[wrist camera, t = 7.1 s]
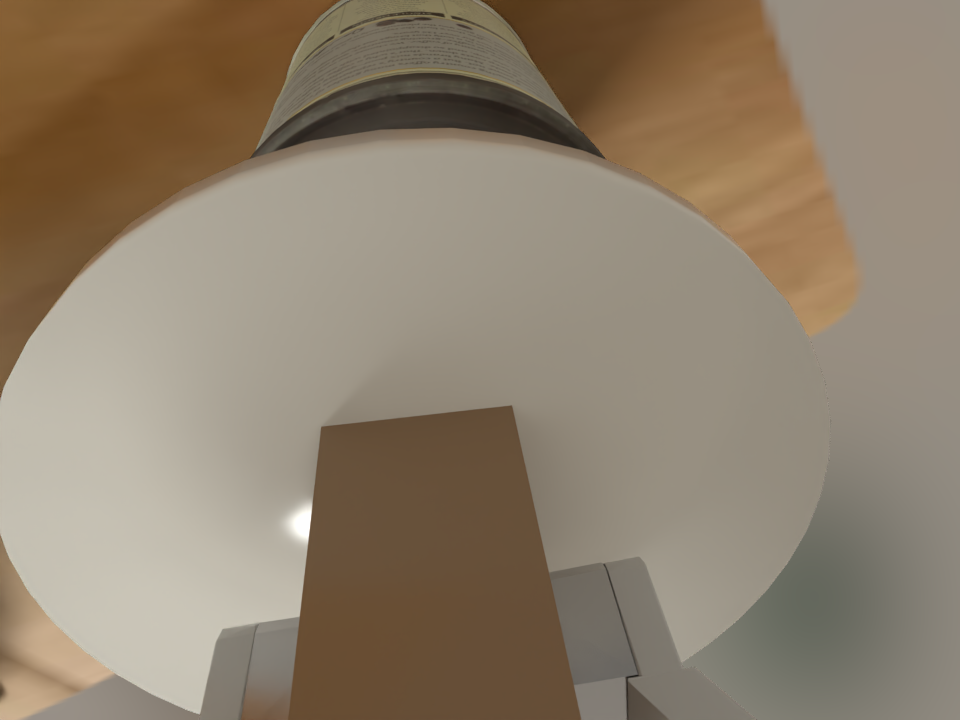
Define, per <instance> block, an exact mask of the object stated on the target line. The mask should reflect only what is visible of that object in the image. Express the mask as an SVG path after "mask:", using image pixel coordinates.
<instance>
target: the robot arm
mask: <svg viewBox="0 0 960 720" xmlns="http://www.w3.org/2000/svg"><path fill="white" fill-rule="evenodd" d="M549 575H550V579H551V584H552V589H553V593H554V598H555V602H556V607H557V611H558V616H559V620H560V625H561V629H562V634H563V638H564V643H565V647H566V652H567V657H568V661H569V666H570V670H571V675H572V679H573V684H574V688H575V693H576V697H577V702H578V706H579V711H580V715H581V720H757V719H756V718H755V717H753V716H752V715H751V714H750V713H749V712H747V711H746V710H745V709H744V708H743V707H742V706H741V705H739V704H738V703H737V702H736V701H735V700H733V699H732V698H731V697H730V696H729V695H728V694H726V693H725V692H724V691H723V690H722V689H721V688H719V687H718V686H717V685H716V684H715V683H713V682H712V681H711V680H710V679H709V678H708V677H706V676H705V675H704V674H703V673H702V672H701V671H699V670H698V669H697V668H696V667H690V668H683V665H682V663H681V660H680V657H679V654H678V652H677V649H676V646H675V643H674V641H673V638H672V635H671V632H670V630H669V627H668V624H667V621H666V619H665V616H664V613H663V610H662V608H661V605H660V602H659V599H658V597H657V594H656V591H655V588H654V586H653V583H652V580H651V577H650V575H649V572H648V569H647V566H646V564H645V562H644V561H643V560H642V559H641V558H640V557H639V556H638V557H633V558H628V559H623V560H618V561H613V562H607V563H602V562H600V563H595V564H590V565H584V566H579V567H574V568H569V569H563V570H558V571H553V572H549ZM299 619H300V617H294V618H287V619H281V620H274V621H268V622H260V623H254V624H248V625H242V626H236V627H231V628H225V629H222V631H221V633H220V635H219V637H218V638H217V640H216V642H215V647H214V651H213V656H212V661H211V665H210V670H209V675H208V679H207V684H206V688H205V693H204V698H203V702H202V707H201V712H200V717H199V720H288V716H289V707H290V698H291V689H292V681H293V672H294V663H295V654H296V645H297V636H298V627H299Z"/></svg>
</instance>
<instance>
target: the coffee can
mask: <svg viewBox="0 0 960 720" xmlns="http://www.w3.org/2000/svg"><path fill="white" fill-rule="evenodd" d="M424 128H458V129H467V130H477V131H486V132H496V133H505V134H515V135H522V136H526V137H530V138H534V139H538V140H542V141H546V142H550V143H554V144H558V145H563V146H567V147H571V148H575V149H579V150H583V151H586V152H588V153H591V154H593V155H596V156H598V157H601V158H603V159H605V158H604V156H603V155H602V154H601V153H600V151H599V150H598V149H597V148H596V147H595V145H594V144H593V143H592V142H591V141H590V140H589V139H588V138H587V137H586V136H585V135H584V133H582V132H581V131H580V130H579V128H578V127H577V125H576V124H575V122H574V121H573V120H572V118H571V117H570V115H569V114H568V113H567V111H566V110H565V108H564V107H563V105H562V104H561V102H560V101H559V100H558V98H557V97H556V95H555V94H554V92H553V91H552V89H551V88H550V86H549V85H548V83H547V82H546V80H545V79H544V77H543V76H542V75H541V73H540V72H539V70H538V69H537V67H536V65H535V64H534V63H533V61H532V60H531V58H530V56H529V54H528V52H527V50H526V48H525V46H524V45H523V43H522V42H521V40H520V38H519V36H518V35H517V34H516V32H515V31H514V30H513V29H512V27H511V26H510V25H509V24H508V23H507V22H506V21H505V20H504V19H503V18H502V17H501V16H500V15H499V14H498V13H497V12H496V11H494V10H493V9H492V8H491V7H489V6H488V5H487V4H485V3H484V2H482V1H480V0H340V1H339V2H338V3H336V4H335V5H333V6H332V7H331V8H330V9H329V10H327V11H326V12H325V13H323V14H322V15H321V16H320V17H319V18H318V19H317V20H316V21H315V23H314V24H313V26H312V27H311V28H310V29H309V31H308V32H307V33H306V34H305V35H304V37H303V39H302V41H301V42H300V44H299V46H298V48H297V50H296V52H295V53H294V56H293V58H292V61H291V64H290V67H289V70H288V73H287V77H286V81H285V84H284V86H283V88H282V91H281V93H280V95H279V97H278V99H277V101H276V103H275V105H274V108H273V111H272V113H271V115H270V118H269V120H268V122H267V125H266V127H265V129H264V132H263V134H262V137H261V139H260V141H259V143H258V145H257V148H256V150H255V152H254V154H253V155H252V156H251V158H254V157H258V156H261V155H264V154H268V153H271V152H274V151H278V150H281V149H285V148H288V147H291V146H295V145H298V144H301V143H305V142H308V141H312V140H318V139H325V138H331V137H337V136H344V135H350V134H356V133H362V132H369V131H375V130H386V129H424ZM251 158H250V159H251Z"/></svg>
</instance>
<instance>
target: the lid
mask: <svg viewBox="0 0 960 720" xmlns="http://www.w3.org/2000/svg"><path fill="white" fill-rule="evenodd" d="M830 427H831V419H830V413H829V405H828V398H827V392H826V384H825V380H824V377H823V374H822V371H821V368H820V366H819V363H818V360H817V357H816V354H815V351H814V348H813V345H812V342H811V341H810V339H809V337H808V335H807V334H806V332H805V330H804V329H803V327H802V325H801V323H800V322H799V320H798V318H797V317H796V315H795V313H794V311H793V310H792V308H791V306H790V305H789V303H788V302H787V301H786V299H785V298H784V297H783V296H782V295H781V294H780V292H779V291H778V290H777V289H776V288H775V287H774V285H773V284H772V283H771V282H770V281H769V280H768V279H767V277H766V276H765V275H764V274H763V273H762V272H761V270H760V269H759V268H758V267H757V266H756V265H755V264H754V262H753V261H752V260H751V259H750V258H749V257H748V255H747V254H746V253H745V252H744V251H743V250H742V249H741V247H740V246H739V245H738V244H737V243H736V242H735V240H734V239H733V238H732V237H731V236H730V235H729V234H728V233H727V232H725V231H724V230H723V229H722V228H720V227H719V226H718V225H717V224H716V223H714V222H713V221H712V220H711V219H710V218H708V217H707V216H706V215H705V214H703V213H702V212H701V211H700V210H699V209H697V208H696V207H695V206H694V205H693V204H691V203H690V202H689V201H687V200H685V199H683V198H682V197H680V196H678V195H677V194H675V193H673V192H671V191H670V190H668V189H666V188H665V187H663V186H661V185H659V184H658V183H656V182H654V181H653V180H651V179H649V178H647V177H646V176H644V175H642V174H641V173H638V172H636V171H633V170H631V169H628V168H626V167H623V166H621V165H618V164H616V163H613V162H611V161H608V160H606V159H603V158H601V157H598V156H596V155H593V154H591V153H588V152H586V151H583V150H579V149H575V148H571V147H567V146H563V145H558V144H554V143H550V142H546V141H542V140H538V139H534V138H530V137H526V136H522V135H515V134H505V133H496V132H486V131H477V130H467V129H458V128H424V129H386V130H375V131H369V132H362V133H356V134H350V135H344V136H337V137H331V138H325V139H318V140H312V141H308V142H305V143H301V144H298V145H295V146H291V147H288V148H285V149H281V150H278V151H274V152H271V153H268V154H264V155H261V156H258V157H254V158H251V159H248V160H244V161H242V162H240V163H238V164H235V165H233V166H231V167H229V168H227V169H225V170H222V171H220V172H218V173H216V174H214V175H211V176H209V177H207V178H205V179H203V180H201V181H198V182H196V183H194V184H192V185H190V186H187V187H185V188H183V189H182V190H180V191H178V192H177V193H175V194H174V195H172V196H171V197H169V198H168V199H166V200H165V201H163V202H162V203H160V204H158V205H157V206H155V207H154V208H152V209H151V210H149V211H148V212H146V213H145V214H143V215H142V216H140V217H138V218H137V219H135V220H134V221H132V222H131V223H130V224H129V225H127V226H126V227H125V228H124V229H123V230H122V231H121V232H120V233H119V234H117V235H116V236H115V237H114V238H113V239H112V240H111V241H110V242H109V243H107V244H106V245H105V246H104V247H103V248H102V249H101V250H100V251H99V252H98V253H96V254H95V255H94V256H93V257H92V258H91V259H90V260H89V261H88V262H87V263H86V264H85V265H84V267H83V268H82V269H81V270H80V272H79V273H78V274H77V275H76V277H75V278H74V279H73V281H72V282H71V283H70V284H69V286H68V287H67V288H66V289H65V291H64V292H63V293H62V295H61V296H60V297H59V298H58V300H57V301H56V302H55V303H54V305H53V306H52V308H51V309H50V310H49V312H48V313H47V315H46V316H45V317H44V319H43V320H42V322H41V323H40V324H39V326H38V327H37V328H36V330H35V331H34V333H33V334H32V335H31V337H30V338H29V340H28V341H27V343H26V345H25V347H24V349H23V351H22V353H21V355H20V357H19V359H18V361H17V362H16V364H15V366H14V368H13V370H12V372H11V374H10V376H9V378H8V380H7V382H6V384H5V386H4V389H3V392H2V396H1V399H0V535H1V537H2V540H3V543H4V546H5V549H6V551H7V554H8V557H9V559H10V560H11V562H12V564H13V566H14V567H15V569H16V571H17V573H18V574H19V576H20V578H21V580H22V581H23V583H24V585H25V587H26V588H27V590H28V592H29V593H30V594H31V595H32V597H33V598H34V599H35V600H36V602H37V603H38V604H39V605H40V607H41V608H42V609H43V610H44V611H45V613H46V614H47V615H48V616H49V618H50V619H51V620H52V621H53V623H54V624H56V625H57V626H58V627H59V628H60V629H61V630H62V631H63V632H64V633H65V634H66V635H67V636H68V637H69V638H70V639H72V640H73V641H74V642H75V643H76V644H77V645H78V646H79V647H80V648H81V649H82V650H84V651H85V652H86V653H88V654H89V655H90V656H92V657H93V658H95V659H96V660H97V661H99V662H100V663H101V664H103V665H104V666H106V667H107V668H108V669H110V670H111V671H112V672H114V673H115V674H117V675H119V676H120V677H122V678H124V679H126V680H128V681H129V682H131V683H133V684H135V685H136V686H138V687H140V688H142V689H143V690H145V691H147V692H149V693H150V694H152V695H155V696H157V697H159V698H162V699H164V700H166V701H168V702H170V703H173V704H175V705H177V706H179V707H182V708H184V709H186V710H189V711H191V712H195V713H197V714H200V712H201V707H202V702H203V698H204V693H205V688H206V684H207V679H208V675H209V670H210V665H211V661H212V656H213V651H214V647H215V642H216V640H217V638H218V637H219V635H220V633H221V631H222V629H225V628H231V627H236V626H242V625H248V624H254V623H260V622H268V621H274V620H281V619H287V618H294V617H300V619H299V627H298V636H297V645H296V654H295V663H294V672H293V681H292V689H291V698H290V707H289V716H288V720H581V715H580V711H579V706H578V702H577V697H576V693H575V688H574V684H573V679H572V675H571V670H570V666H569V661H568V657H567V652H566V647H565V643H564V638H563V634H562V629H561V625H560V620H559V616H558V611H557V607H556V602H555V598H554V593H553V589H552V584H551V579H550V575H549V572H553V571H558V570H563V569H569V568H574V567H579V566H584V565H590V564H595V563H600V562H602V563H607V562H613V561H618V560H623V559H628V558H633V557H638V556H639V557H640V558H641V559H642V560H643V561H644V562H645V564H646V566H647V569H648V572H649V575H650V577H651V580H652V583H653V586H654V588H655V591H656V594H657V597H658V599H659V602H660V605H661V608H662V610H663V613H664V616H665V619H666V621H667V624H668V627H669V630H670V632H671V635H672V638H673V641H674V643H675V646H676V649H677V652H678V654H679V657H680V660H681V663H682V662H684V661H685V660H687V659H688V658H690V657H691V656H692V655H694V654H695V653H697V652H698V651H700V650H701V649H702V648H703V647H705V646H707V645H708V644H710V643H711V642H712V641H714V640H715V639H716V638H717V637H718V636H719V635H721V634H722V633H723V632H724V631H725V630H727V629H728V628H729V627H730V626H731V625H732V624H734V623H735V622H736V621H737V620H738V619H740V618H741V617H742V616H743V615H744V614H745V612H746V611H747V610H748V609H749V608H750V607H751V606H752V605H753V604H754V603H755V602H756V601H757V600H758V599H759V598H760V597H761V596H762V595H763V594H764V593H765V592H766V591H767V589H768V588H769V587H770V585H771V584H772V583H773V581H774V580H775V579H776V577H777V576H778V575H779V574H780V572H781V571H782V570H783V568H784V567H785V566H786V564H787V563H788V562H789V560H790V558H791V557H792V555H793V553H794V551H795V550H796V548H797V546H798V545H799V543H800V541H801V539H802V538H803V536H804V534H805V532H806V531H807V529H808V526H809V524H810V521H811V519H812V516H813V514H814V511H815V509H816V506H817V504H818V501H819V499H820V496H821V492H822V488H823V483H824V479H825V475H826V470H827V466H828V461H829V447H830Z"/></svg>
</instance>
